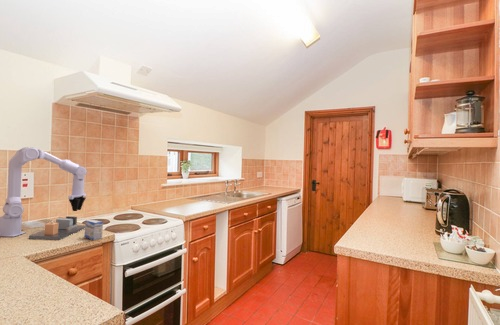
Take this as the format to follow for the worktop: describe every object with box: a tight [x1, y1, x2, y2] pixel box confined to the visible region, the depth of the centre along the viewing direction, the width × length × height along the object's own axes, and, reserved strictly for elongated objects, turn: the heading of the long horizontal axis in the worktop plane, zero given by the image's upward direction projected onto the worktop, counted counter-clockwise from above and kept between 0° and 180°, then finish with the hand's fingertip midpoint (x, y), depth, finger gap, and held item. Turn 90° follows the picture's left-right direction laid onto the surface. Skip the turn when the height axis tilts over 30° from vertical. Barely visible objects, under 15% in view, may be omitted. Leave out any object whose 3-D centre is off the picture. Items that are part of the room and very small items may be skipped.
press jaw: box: [55, 215, 78, 229], centre depth 150 cm, size 7×9×5 cm
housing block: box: [44, 220, 59, 235], centre depth 137 cm, size 4×4×6 cm
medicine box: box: [84, 219, 104, 241], centre depth 138 cm, size 8×4×9 cm, turn 62°
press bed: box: [28, 223, 85, 241], centre depth 144 cm, size 14×24×4 cm, turn 4°
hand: (76, 210), depth 158 cm, fingers open, 3 cm apart
